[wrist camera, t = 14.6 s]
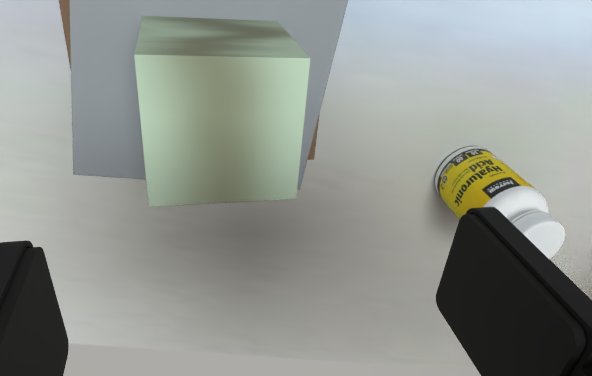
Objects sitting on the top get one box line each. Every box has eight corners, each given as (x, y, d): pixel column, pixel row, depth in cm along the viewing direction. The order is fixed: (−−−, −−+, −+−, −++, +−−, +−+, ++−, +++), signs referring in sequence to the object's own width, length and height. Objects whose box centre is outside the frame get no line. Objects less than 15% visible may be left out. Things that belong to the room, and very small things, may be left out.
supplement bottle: (473, 131, 37) (559, 198, 28) (502, 169, 39) (588, 239, 31) (420, 176, 38) (488, 253, 30) (452, 210, 41) (522, 288, 33)
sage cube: (277, 21, 21) (310, 58, 16) (270, 137, 25) (296, 198, 20) (142, 15, 20) (134, 54, 15) (153, 140, 23) (148, 206, 18)
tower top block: (331, -44, 24) (356, -34, 21) (284, 157, 30) (299, 189, 27) (83, -102, 21) (67, -101, 17) (85, 139, 26) (73, 174, 23)
